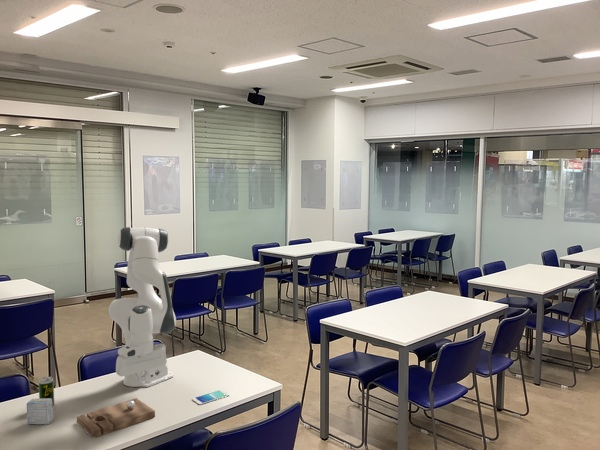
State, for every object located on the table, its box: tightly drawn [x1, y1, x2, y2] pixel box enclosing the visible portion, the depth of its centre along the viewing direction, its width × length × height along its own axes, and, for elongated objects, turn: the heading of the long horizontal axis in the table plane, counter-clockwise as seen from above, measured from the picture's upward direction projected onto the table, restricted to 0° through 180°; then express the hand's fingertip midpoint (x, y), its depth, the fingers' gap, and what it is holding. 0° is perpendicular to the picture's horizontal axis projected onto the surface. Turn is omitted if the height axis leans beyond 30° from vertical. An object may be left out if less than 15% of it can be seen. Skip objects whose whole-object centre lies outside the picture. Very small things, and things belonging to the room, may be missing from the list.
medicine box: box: [26, 398, 54, 425], centre depth 191 cm, size 8×4×9 cm, turn 92°
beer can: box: [38, 376, 55, 407], centre depth 204 cm, size 5×5×12 cm
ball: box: [127, 401, 135, 409], centre depth 197 cm, size 3×3×3 cm
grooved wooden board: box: [76, 397, 156, 439], centre depth 194 cm, size 24×16×2 cm, turn 134°
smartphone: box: [191, 389, 230, 406], centre depth 214 cm, size 7×1×15 cm
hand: (142, 381), depth 200 cm, fingers closed
